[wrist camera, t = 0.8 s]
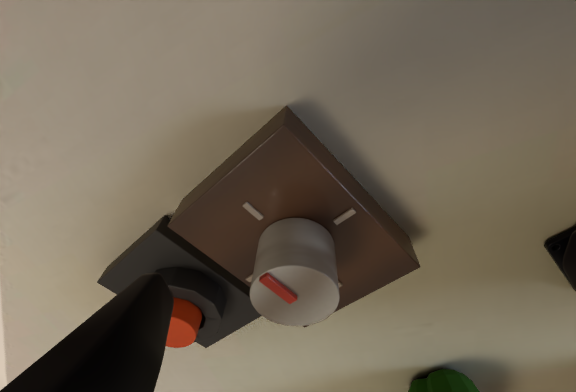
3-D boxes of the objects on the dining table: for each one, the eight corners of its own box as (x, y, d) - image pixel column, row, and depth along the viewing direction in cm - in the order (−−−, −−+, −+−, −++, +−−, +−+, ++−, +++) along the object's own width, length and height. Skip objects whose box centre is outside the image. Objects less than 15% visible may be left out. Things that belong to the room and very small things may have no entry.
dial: (350, 251, 21) (358, 307, 18) (293, 284, 23) (291, 341, 19) (299, 203, 19) (297, 255, 16) (242, 244, 21) (229, 298, 18)
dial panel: (409, 237, 24) (421, 269, 22) (305, 296, 28) (304, 329, 26) (286, 104, 19) (283, 125, 17) (181, 199, 23) (165, 228, 21)
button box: (271, 294, 28) (267, 331, 25) (210, 331, 31) (200, 367, 28) (164, 214, 24) (145, 247, 21) (107, 266, 27) (83, 301, 24)
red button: (212, 314, 25) (206, 335, 24) (183, 333, 27) (175, 353, 25) (173, 289, 24) (164, 309, 22) (145, 310, 25) (135, 330, 24)
